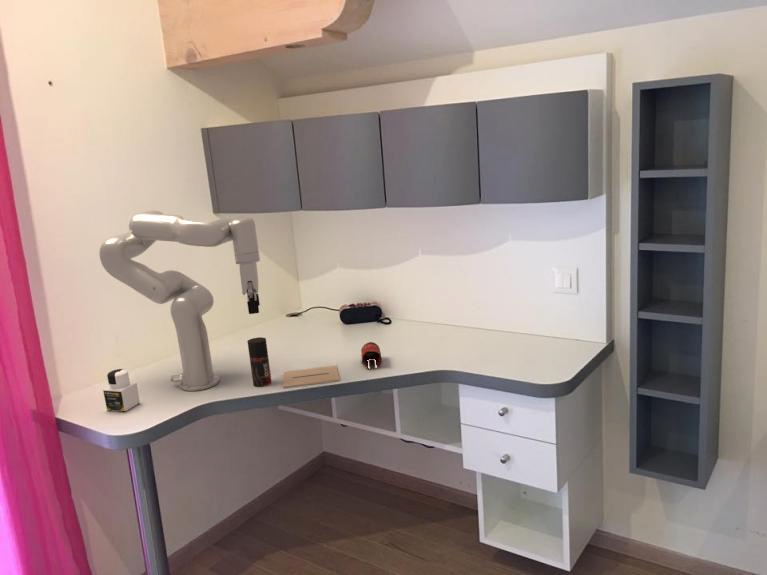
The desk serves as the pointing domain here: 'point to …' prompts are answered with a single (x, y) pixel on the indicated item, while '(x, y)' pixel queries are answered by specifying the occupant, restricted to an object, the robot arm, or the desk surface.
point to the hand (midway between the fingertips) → (254, 309)
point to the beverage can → (371, 354)
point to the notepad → (310, 376)
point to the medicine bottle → (120, 391)
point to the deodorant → (259, 362)
